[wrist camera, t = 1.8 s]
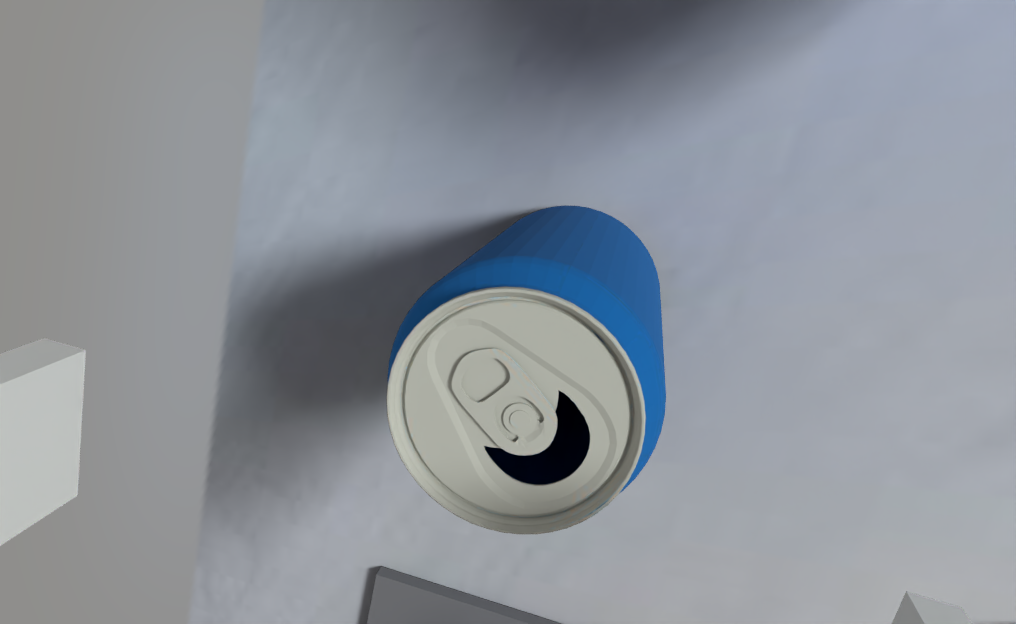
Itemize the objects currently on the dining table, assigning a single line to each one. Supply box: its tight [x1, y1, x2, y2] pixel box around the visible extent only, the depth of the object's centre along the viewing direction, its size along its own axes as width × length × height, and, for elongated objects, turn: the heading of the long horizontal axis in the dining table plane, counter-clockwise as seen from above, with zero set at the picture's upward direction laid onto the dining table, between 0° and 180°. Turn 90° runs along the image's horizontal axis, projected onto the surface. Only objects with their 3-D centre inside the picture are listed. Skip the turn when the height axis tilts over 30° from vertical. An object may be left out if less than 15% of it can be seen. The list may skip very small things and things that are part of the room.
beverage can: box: [387, 206, 666, 534], centre depth 21 cm, size 6×6×12 cm
